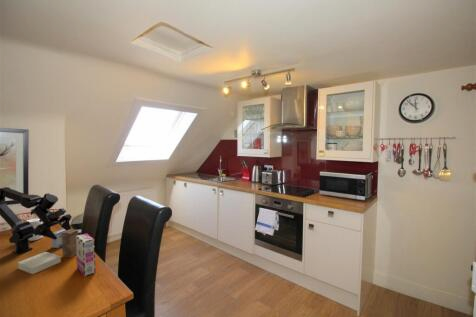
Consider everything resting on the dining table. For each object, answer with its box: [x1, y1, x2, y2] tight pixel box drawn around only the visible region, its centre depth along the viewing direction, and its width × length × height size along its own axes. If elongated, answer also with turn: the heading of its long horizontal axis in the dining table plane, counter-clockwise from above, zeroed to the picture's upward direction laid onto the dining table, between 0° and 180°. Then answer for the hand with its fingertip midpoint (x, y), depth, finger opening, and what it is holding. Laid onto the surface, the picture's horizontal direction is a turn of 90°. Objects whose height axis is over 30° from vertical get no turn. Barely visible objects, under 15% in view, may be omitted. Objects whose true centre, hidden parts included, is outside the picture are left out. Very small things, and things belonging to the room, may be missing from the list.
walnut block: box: [61, 228, 79, 258], centre depth 127 cm, size 5×5×13 cm
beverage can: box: [25, 217, 44, 242], centre depth 147 cm, size 8×8×12 cm
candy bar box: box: [76, 233, 96, 277], centre depth 112 cm, size 11×5×16 cm, turn 49°
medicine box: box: [50, 228, 67, 249], centre depth 139 cm, size 8×4×9 cm, turn 168°
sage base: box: [17, 251, 62, 275], centre depth 117 cm, size 12×12×3 cm
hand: (64, 235), depth 128 cm, fingers open, 9 cm apart
